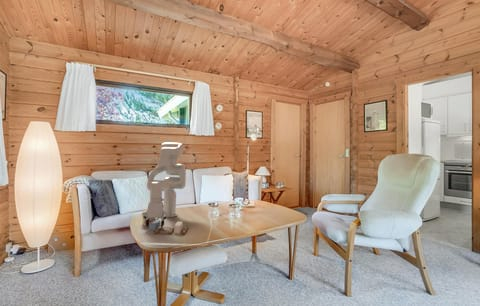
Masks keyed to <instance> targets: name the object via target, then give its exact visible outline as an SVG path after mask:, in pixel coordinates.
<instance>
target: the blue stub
mask: <svg viewBox="0 0 480 306" xmlns="http://www.w3.org/2000/svg"><path fill="white" fill-rule="evenodd" d="M160 225H161V220H159V219H158V220H155V221H154V222H152V223H151V224H150V226H149V231H156V230H157V229H158V227H159V226H160Z"/></svg>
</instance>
